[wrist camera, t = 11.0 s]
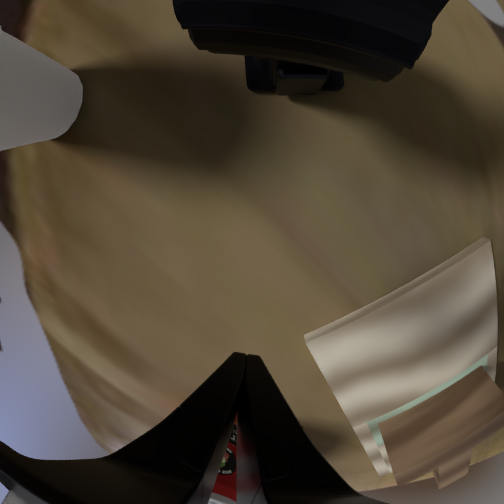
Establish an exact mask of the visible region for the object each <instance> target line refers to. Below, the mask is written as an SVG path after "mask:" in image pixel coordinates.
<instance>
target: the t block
mask: <svg viewBox="0 0 504 504" xmlns="http://www.w3.org/2000/svg"><path fill="white" fill-rule="evenodd" d="M378 426H379V429H380V432H381V435H382V438H383V442H384V445H385V448H386V451H387V454H388V458H389V461H390V464H391V468H392V471H393V474H394V477H395V479H396V482H397V484H398V486H401V485H403V484H406V483H408V482H410V481H412V480H415V479H417V478H419V477H421V476H423V475H425V474H427V473H429V472H431V471H433V474H434V476H435V479H436V482H437V485H438V487H439V489H441V488H443V487H445V486H447V485H449V484H451V483H452V482H454V481H456V480H458V479H460V478H461V477H463V476H465V475H466V474H467V473H468V468H469V464H470V459H471V454H472V449H473V447H475V446H476V445H478V444H479V443H481V442H482V441H484V440H485V439H487V438H488V437H490V436H491V435H492V434H494V433H495V432H497V431H498V430H499V429H501V428H502V427H503V426H504V394H503V393H502V391H501V390H500V389H499V387H498V386H497V385H496V383H495V382H494V381H493V380H492V378H491V377H490V376H489V375H488V373H487V372H486V371H485V370H484V368H483V367H482V366H481V365H480V366H479V367H478V368H476V369H475V370H473V371H472V372H470V373H469V374H468V375H466V376H465V377H463V378H461V379H460V380H458V381H457V382H455V383H454V384H452V385H450V386H449V387H447V388H446V389H444V390H442V391H441V392H439V393H437V394H435V395H434V396H432V397H430V398H428V399H427V400H425V401H423V402H421V403H419V404H417V405H416V406H414V407H412V408H410V409H408V410H406V411H404V412H402V413H400V414H398V415H396V416H394V417H391V418H389V419H387V420H385V421H383V422H380V423H378Z"/></svg>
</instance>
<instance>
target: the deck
mask: <svg viewBox="0 0 504 504" xmlns="http://www.w3.org/2000/svg"><path fill="white" fill-rule="evenodd" d="M304 336H305V342H306V345H307V346H308V348H309V350H310V352H311V354H312V355H313V357H314V359H315V361H316V363H317V364H318V366H319V368H320V370H321V372H322V373H323V375H324V377H325V379H326V380H327V382H328V384H329V386H330V388H331V389H332V391H333V393H334V395H335V397H336V398H337V400H338V402H339V404H340V406H341V407H342V409H343V411H344V413H345V415H346V416H347V418H348V420H349V422H350V424H351V425H352V427H353V429H354V431H355V433H356V434H357V436H358V438H359V440H360V442H361V443H362V445H363V447H364V449H365V451H366V453H367V454H368V456H369V458H370V460H371V462H372V463H373V465H374V467H375V469H376V471H377V472H378V474H379V476H380V477H381V476H384V475H386V474H389V473H391V472H393V471H392V468H391V464H390V461H389V458H388V454H387V451H386V448H385V445H384V442H383V438H382V435H381V432H380V429H379V426H378V423H380V422H383V421H385V420H387V419H389V418H391V417H394V416H396V415H398V414H400V413H402V412H404V411H406V410H408V409H410V408H412V407H414V406H416V405H417V404H419V403H421V402H423V401H425V400H427V399H428V398H430V397H432V396H434V395H435V394H437V393H439V392H441V391H442V390H444V389H446V388H447V387H449V386H450V385H452V384H454V383H455V382H457V381H458V380H460V379H461V378H463V377H465V376H466V375H468V374H469V373H470V372H472V371H473V370H475V369H476V368H478V367H479V366H480V365H481V366H482V367H483V368H484V370H485V371H486V372H487V373H488V375H489V376H490V377H491V378H492V380H493V381H494V382H495V375H496V362H497V341H498V314H497V292H496V280H495V270H494V261H493V254H492V247H491V241H490V240H489V239H487V238H484V237H481V238H480V239H478V240H477V241H475V242H474V243H472V244H471V245H469V246H468V247H466V248H465V249H463V250H462V251H460V252H459V253H457V254H456V255H454V256H452V257H451V258H449V259H448V260H446V261H444V262H443V263H441V264H440V265H438V266H436V267H435V268H433V269H431V270H430V271H428V272H426V273H424V274H423V275H421V276H419V277H418V278H416V279H414V280H412V281H411V282H409V283H407V284H405V285H404V286H402V287H400V288H398V289H396V290H394V291H393V292H391V293H389V294H387V295H385V296H383V297H381V298H379V299H378V300H376V301H374V302H372V303H370V304H368V305H366V306H364V307H362V308H360V309H358V310H356V311H354V312H352V313H350V314H348V315H346V316H344V317H342V318H340V319H337V320H335V321H333V322H331V323H329V324H327V325H325V326H322V327H320V328H318V329H316V330H314V331H311V332H309V333H307V334H305V335H304Z"/></svg>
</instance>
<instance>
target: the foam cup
mask: <svg viewBox="0 0 504 504" xmlns="http://www.w3.org/2000/svg"><path fill="white" fill-rule="evenodd" d="M82 97H83V86H82V83H81V81H80V79H79V76H78V75H77V74H75V73H74V72H72V71H71V70H69V69H67V68H66V67H64V66H62V65H61V64H59V63H58V62H56V61H54V60H53V59H51V58H49V57H48V56H46V55H44V54H42V53H41V52H39V51H37V50H36V49H34V48H32V47H30V46H29V45H27V44H25V43H23V42H22V41H20V40H18V39H16V38H14V37H13V36H11V35H9V34H7V33H5V32H4V31H2V30H1V26H0V151H2V150H6V149H10V148H14V147H18V146H22V145H27V144H31V143H36V142H41V141H46V140H51V139H56V138H57V137H59V136H60V135H62V134H64V133H65V132H67V131H68V129H69V128H70V126H71V125H72V124H73V122H74V121H75V120H76V118H77V115H78V113H79V110H80V107H81V104H82Z"/></svg>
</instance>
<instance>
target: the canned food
mask: <svg viewBox="0 0 504 504" xmlns="http://www.w3.org/2000/svg"><path fill="white" fill-rule="evenodd" d="M208 504H237V415H236V419H235V423H234V426H233V429H232V432H231V435H230V438H229V442H228V445H227V448H226V451H225V454H224V457H223V460H222V463H221V466H220V469H219V472H218V475H217V478H216V481H215V484H214V487H213V490H212V493H211V496H210V499H209V502H208Z"/></svg>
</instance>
